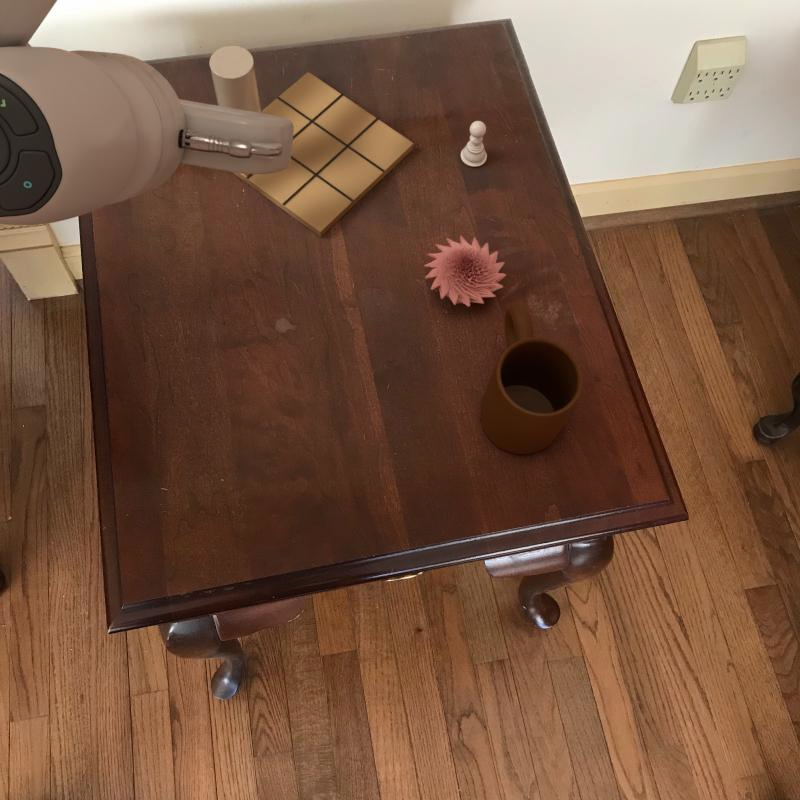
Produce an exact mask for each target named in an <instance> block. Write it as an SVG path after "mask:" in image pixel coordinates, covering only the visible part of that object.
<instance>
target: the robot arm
mask: <svg viewBox="0 0 800 800" xmlns="http://www.w3.org/2000/svg"><path fill="white" fill-rule="evenodd" d="M57 1H58V0H0V225H8V226H39V225H40V226H42V225H48V224H52V223H53V224H54V223H58V222H62V221H67V220H70V219H74V218H77V217H80V216H83V215H86V214H89V213H92V212H94V211H97V210H100V209H101V208H103V207H105V206H108V205H114V204H118V203H122V202H125V201H127V200H130V199H133V198H135V197H138V196H141V195H144V194H148V193H150V192H152V191H154V190H157V189H158V188H160V187H161V186H163V185H164V184H165V183H167V181H169V180H170V178H171V177H173V175H174V173H176V171H177V169H178V168H179V166H180V164H183V165H187V166H193V167H199V168H206V169H211V170H217V171H222V172H223V171H224V172H228V173H232V172H234V173H244V174H269V173H275V172H279V171H283V170H286V169H287V168H288V167H289V164H290V160H291V153H292V146H293V133H294V126H293V123H292V121H290V120H289V119H286V118H283V117H280V116H274V115H269V114H263V113H257V112H251V111H246V110H240V109H234V108H228V107H222V106H218V105H215V104H211V103H204V102H199V101H194V100H193V101H192V100H187V99H181V98H179V96H178V94H177V93H176V91H175V89H174V88H173V87H172V85H171V84H170V82H169V81H168V80H167V79H166V78H165V76H163V74H162V73H161V72H159V71H158V70H157V69H156V68H154V67H153V65H150V64H149V63H148V62H145V61H144V60H142V59H140V58H138V57H135V56H131V55H129V54H124V53H119V52H106V51H95V50H83V49H81V50H80V49H78V50H77V49H76V50H67V49H62V48H57V47H49V46H32V45H31V44H30V43H29V42H30V41H31V39H32V38H33V36H34V35H35V33H36V32H37V30H38V29H39V27H40V26H41V25H42V24H43V22H44V21H45V19H46V18H47V17H48V15H49V13H50V12H51V10H52V9H53V7H54V6H55V5H56V3H57ZM234 173H233V174H234Z"/></svg>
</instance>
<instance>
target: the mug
mask: <svg viewBox="0 0 800 800" xmlns="http://www.w3.org/2000/svg"><path fill="white" fill-rule="evenodd" d="M503 325H504V337H505V342H506V343H505V344H506V347H507V348H506V349H504V351H503V352H502V353H501V355H500V356H499V358H498V360H497V361H496V363H495V365H494V367H493V369H492V372H491V374H490V378H489V381H488V383H487V386H486V389H485V393H484V396H483V399H482V403H481V407H480V420H481V426H482V427H483V430H484V432H485V434H486V435H487V437H488V438H489V439H490V441H491V442H493V444H495V445H496V446H497V447H498V448H500V449H502V450H504V451H506V452H509V453H512V454H517V455H531V454H535V453H537V452H540V451H542V450H543V449H546V448H548V447H549V446H550V445H551V444H552V443H553V442H554V441H555V439H556V438H557V437H558V436H559V434H560V432H561V431H562V429H563V428H564V426H565V425H566V423H567V421H568V420H569V418H570V417H571V415H572V413H573V412H574V410H575V408H576V406H577V405H578V403H579V399H580V397H581V395H582V393H583V388H584V376H583V371H582V367H581V365H580V363H579V361H578V359H577V358H576V357H575V355H574V354H573V353H572V352H571V350H569V349H568V348H567V347H565V346H564V345H562V344H561V343H559V342H557V341H554V340H552V339H549V338H545V337H535V334H534V326H533V320H532V315H531V313H530V310H529V308H528V307H527V305H526V304H525V303H523V302H521V301H515V302H512V303H510V304H509V305H507V308H506V310H505V314H504V324H503Z"/></svg>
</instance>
